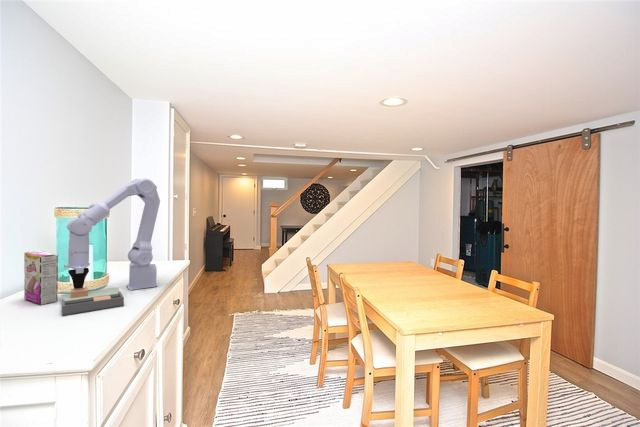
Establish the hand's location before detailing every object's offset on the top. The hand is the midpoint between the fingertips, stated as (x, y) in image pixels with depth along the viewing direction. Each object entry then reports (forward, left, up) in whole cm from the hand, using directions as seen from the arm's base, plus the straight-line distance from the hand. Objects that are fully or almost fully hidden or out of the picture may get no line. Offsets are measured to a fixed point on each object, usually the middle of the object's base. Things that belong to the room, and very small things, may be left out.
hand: (78, 289), depth 105 cm
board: (-4, +6, -3) cm, 7 cm away
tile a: (-6, +14, -2) cm, 16 cm away
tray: (-3, +15, -3) cm, 16 cm away
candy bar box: (+10, -2, -3) cm, 10 cm away
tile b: (0, +6, -1) cm, 6 cm away
